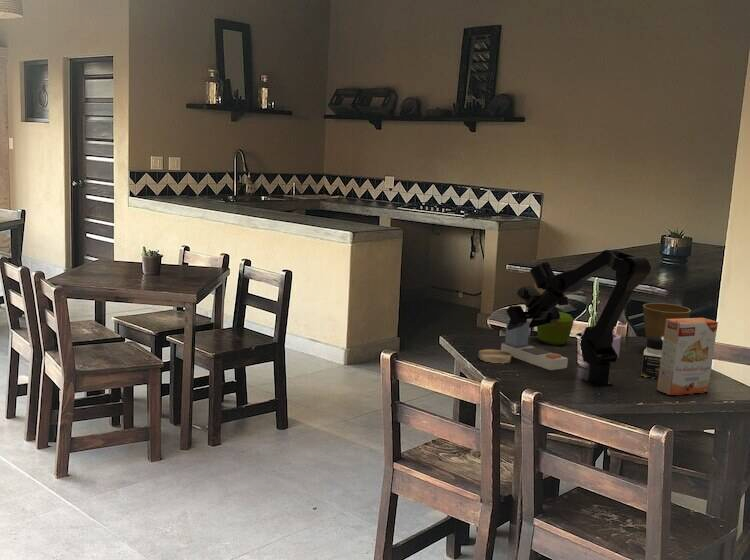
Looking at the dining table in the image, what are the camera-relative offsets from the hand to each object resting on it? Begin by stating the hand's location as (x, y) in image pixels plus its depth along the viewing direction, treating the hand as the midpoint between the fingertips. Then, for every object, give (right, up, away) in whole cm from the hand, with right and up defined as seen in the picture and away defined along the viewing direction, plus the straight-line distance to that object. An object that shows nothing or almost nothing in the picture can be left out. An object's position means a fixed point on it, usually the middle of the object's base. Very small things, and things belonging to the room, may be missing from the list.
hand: (518, 327), depth 256 cm
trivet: (-9, -9, -7) cm, 15 cm away
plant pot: (+50, -10, +12) cm, 52 cm away
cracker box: (+41, -16, -31) cm, 53 cm away
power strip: (+4, -10, -5) cm, 11 cm away
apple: (+15, -6, +20) cm, 26 cm away
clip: (+28, -9, +9) cm, 31 cm away
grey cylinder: (-1, -5, +1) cm, 5 cm away
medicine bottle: (+38, -14, -15) cm, 43 cm away
